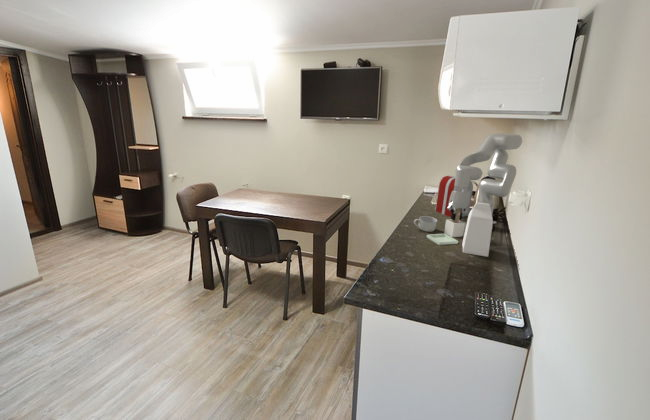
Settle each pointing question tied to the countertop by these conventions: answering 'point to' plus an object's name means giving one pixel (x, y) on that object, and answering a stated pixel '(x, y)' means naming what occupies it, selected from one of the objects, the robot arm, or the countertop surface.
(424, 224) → the teacup
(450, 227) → the open box
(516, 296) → the countertop surface
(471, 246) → the milk
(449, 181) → the red and white block
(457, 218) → the dowel
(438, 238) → the tray
